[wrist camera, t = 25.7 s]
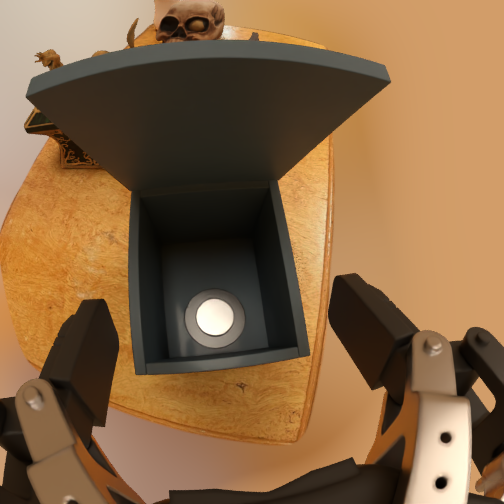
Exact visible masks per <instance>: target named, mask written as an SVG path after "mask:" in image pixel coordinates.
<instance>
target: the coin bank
mask: <svg viewBox="0 0 504 504" xmlns="http://www.w3.org/2000/svg"><path fill="white" fill-rule="evenodd" d="M224 18H225V17H224V9H223V8H222V6H221V5H220V4H219V3H217V2H215V1H213V0H183V1H181V2H178V3H176V4H174V5H172V6H171V7H170V9H169V11H168V12H167V14H166V15H165V16H164V17H163V19H162V20H161V22H160V25H159V28H158V30H157V33H156V40H157V41H161V40H162V41H163V43H171V42H182V41H197V40H217V39H219V38H220V37H221V35H222V32H223V27H224V20H225V19H224Z"/></svg>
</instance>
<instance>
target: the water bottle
mask: <svg viewBox="0 0 504 504" xmlns="http://www.w3.org/2000/svg"><path fill="white" fill-rule="evenodd" d="M179 1H180V0H154V2H155V17H154V26H155V27H156V29H157V30H158V28H159V25H160V22H161V20H162V19H163V17H164V16H165V15H166V14H167V12H168V11H169V9H170V7H171V6H172V5H174V4H176V3H178V2H179Z"/></svg>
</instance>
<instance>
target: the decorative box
mask: <svg viewBox="0 0 504 504" xmlns="http://www.w3.org/2000/svg"><path fill="white" fill-rule="evenodd" d="M137 22H138V18H137V19H136V20H135V21H134V23H133V24H132V26H131V28H130V30H129V32H128V34H127V42H128V44H129V46H130V48H135V47H134V36H135V35H134V30H135V28H136V25H137ZM138 47H141V46H138ZM106 53H110V52H107V51H97V52H96V53H94V54H93V56H92V57H94V56H98V55H102V54H106ZM37 54H38V55H35V56H37V57H39V60H38V61H35V62H41V61H42V64H43V66H44V67H46V66H48V67H49V68H50V71H51V70H53V69H56V68H59V67H62V66H64V65H63V64H62V63H61V62H60V57H59V55H58V54H56V52H55V51H54V50H51V49H50V50H47V51H46V52H44V53H41V52H40V53H37ZM39 55H40V56H39ZM24 128H25V130H26V132H27V133H29V134H40V135H47V136H49V137H51V138H53V139H54V140H55V141H56V142H57V143H58V144H59V147H60V164H61V166H62V168H103V167H102V166H100V165H99V164H98V163H97V162H96V161H95V160H94V159H92V158H91V157H90V156H89V155H88V154H87V153H86V152H84V151H83V150H82V149H81V148H80V147H79V146H78V145H77V144H75V143H74V142H73V141H72V140H71V139H70V138H69V137H68V136H67V135H65V134H64V133H63V132H62V131H61V130H60V129H59V128H58V127H57V126H56V125H54V124H53V123H52V122H51V121H50V120H49V119H48V118H47V117H46V116H45V115H44V114H43V113H42V112H40V111H39V110H38V109H37V108H36V107H35V108H34V109H33V111H32V112H31V114H30V116H29V117H28V119H27V120H26V122H25V124H24Z"/></svg>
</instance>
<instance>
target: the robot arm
mask: <svg viewBox="0 0 504 504" xmlns="http://www.w3.org/2000/svg"><path fill="white" fill-rule="evenodd" d="M328 318H329V322H330V325H331V327H332V329H333V330H334V332H335V333H336V335H337V336H338V338H339V339H340V341H341V343H342V344H343V346H344V347H345V349H346V350H347V352H348V353H349V355H350V356H351V358H352V360H353V361H354V363H355V365H356V366H357V368H358V369H359V370H360V372H361V374H362V376H363V377H364V379H365V380H366V382H367V384H368V385H369V387H370V388H371V390H375V389H378V388H380V387H383V386H384V387H385V388H386V390H387V391H386V392H385V394H384V399H383V404H382V410H381V415H380V420H379V425H378V430H377V434H376V438H375V441H374V444H373V446H372V448H371V450H370V452H369V454H368V456H367V459H366V461H365V464H362V465H361V464H359V465H356V463H355V461H354V459H353V458H352V457H351V458H349V459H346V460H343V461H341V462H338V463H335V464H332V465H329V466H326V467H323V468H319V469H316V470H313V471H310V472H309V473H307V474H305V475H303V476H301V477H300V478H297V479H295V480H293V481H291V482H289V483H287V484H285V485H283V486H281V487H279V488H276V489H274V490H272V491H269V492H245V491H232V490H222V489H205V490H169V497H170V498H169V499H165V500H162V501H159V502H156V503H153V504H504V347H503V346H502V345H501V344H500V343H499V342H498V341H497V339H496V338H495V337H494V336H493V335H492V334H490V332H488V331H486V330H485V329H483V328H480V327H472V328H470V329H469V330H468V331H467V333H466V335H465V337H464V338H463V340H461V341H452V342H449V341H448V340H447V339H446V338H445V337H444V336H442V335H441V334H439V333H437V332H434V331H428V330H424V331H420V330H418V328H417V327H416V326H415V325H414V324H413V323H412V322H411V321H410V320H409V319H408V318H407V317H406V316H405V315H404V314H403V313H402V312H401V310H399V308H396V306H395V304H394V303H393V302H392V301H389V298H388V297H387V296H386V295H385V294H384V293H383V292H382V291H380V290H379V289H377V288H375V287H373V286H371V285H370V284H367V283H366V282H365V281H364V280H363V279H362V278H361V277H360V276H359V275H358V274H356V273H352V274H345V275H339V276H336V277H335V278H334V282H333V287H332V293H331V298H330V304H329V309H328ZM53 344H54V346H52V348H51V350H50V352H49V354H48V357H47V359H46V361H45V364H44V366H43V369H42V371H41V374H40V376H39V378H38V379H32V380H30V381H28V382H26V383H24V384H23V385H22V386H21V387H20V389H19V390H18V392H17V394H16V397H9V398H3V399H0V446H1V447H2V448H4V449H5V450H6V451H7V456H6V463H5V469H4V477H3V484H2V486H0V504H146V503H145V502H144V501H143V500H142V499H141V497H140V496H139V495H137V493H136V492H135V491H134V490H132V488H131V487H129V486H128V485H127V484H126V482H125V481H124V480H123V479H122V478H121V477H120V475H119V474H118V472H117V471H116V470H115V468H114V467H113V466H112V464H111V463H110V462H109V460H108V458H107V457H106V456H105V454H104V452H103V451H102V449H101V448H100V446H99V445H98V443H97V441H96V440H95V438H94V437H93V435H92V427H93V426H99V427H105V423H106V416H107V409H108V403H109V397H110V391H111V386H112V381H113V376H114V371H115V366H116V361H117V357H118V352H119V338H118V334H117V331H116V328H115V326H114V323H113V320H112V318H111V315H110V312H109V309H108V306H107V303H106V301H105V300H104V299H89V300H83V301H82V302H81V304H80V306H79V308H78V310H77V312H76V314H75V315H71V316H70V317H69V318H68V319H67V320H66V321H65V322H64V323H63V324H62V327H61V329H60V331H59V333H58V337H56V339H55V341H54V343H53ZM478 377H480V378H481V379H482V380H483V382H484V383H485V384H486V386H487V387H488V388H489V390H490V391H491V392H492V394H493V395H494V397H495V400H496V404H495V408H494V409H493V411H492V412H491V413H490V412H489V411H488V410H487V409H486V407H485V406H484V404H483V403H482V402H481V400H480V399H479V397H478V396H477V395H476V394H475V392H474V391H473V389H472V388H471V387H472V385H473V384H474V383H475V382H476V380H477V379H478ZM471 458H472V459H473V461H474V463H475V465H476V467H477V468H478V470H479V472H480V474H481V476H482V477H481V478H480V479H479V480H478V481H477V482H476V485H475V488H476V491H478V492H483V491H484V496H482V495H477V494H473V493H469V492H468V491H469V483H470V473H471Z"/></svg>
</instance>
